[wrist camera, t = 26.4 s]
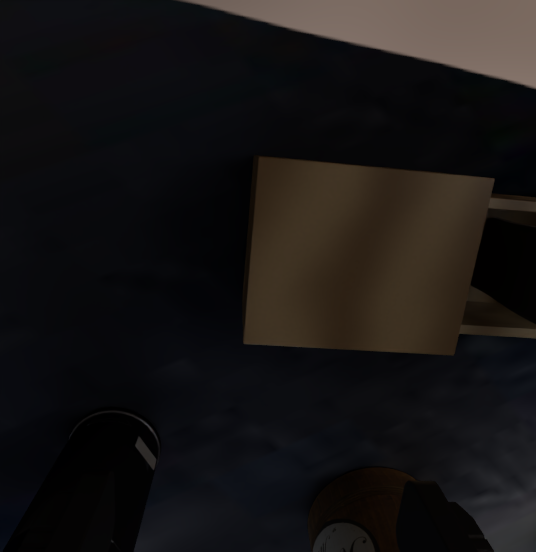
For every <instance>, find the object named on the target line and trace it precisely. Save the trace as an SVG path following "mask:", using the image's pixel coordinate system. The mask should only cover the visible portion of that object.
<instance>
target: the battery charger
mask: <svg viewBox="0 0 536 552" xmlns="http://www.w3.org/2000/svg"><path fill="white" fill-rule="evenodd" d="M471 286H472V287H474V288H476V289H478V290H480V291H482V292H484V293H485V294H487V295H489V296H490V297H492V298H493V299H495V300H496V301H497V302H499V303H500V304H502V305H503V306H505V307H506V308H508V309H509V310H511V311H512V312H514V313H516V314H517V315H519V316H521V317H523V318H524V319H526V320H528V321H530V322H532V323H534V324H536V226H532V225H526V224H520V223H515V222H512V221H509V220H505V219H502V218H497V217H494V218H489V219H488V220H487V222H486V225H485V229H484V232H483V236H482V239H481V243H480V246H479V250H478V254H477V258H476V263H475V267H474V271H473V276H472V280H471Z"/></svg>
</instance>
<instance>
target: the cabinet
mask: <svg viewBox="0 0 536 552" xmlns="http://www.w3.org/2000/svg"><path fill="white" fill-rule="evenodd" d="M494 180H495V179H494V178H485V177H476V176H467V175H458V174H448V173H439V172H429V171H418V170H408V169H397V168H387V167H376V166H365V165H355V164H344V163H333V162H323V161H312V160H302V159H291V158H280V157H270V156H259V155H254V157H253V170H252V183H251V195H250V208H249V221H248V233H247V246H246V259H245V271H244V284H243V297H242V313H243V343H244V344H257V345H275V346H293V347H311V348H330V349H348V350H366V351H384V352H402V353H421V354H439V355H454V353H455V349H456V345H457V340H458V336H459V332H460V327H461V323H462V319H463V315H464V310H465V306H466V302H467V297H468V293H469V289H470V284H471V280H472V276H473V271H474V267H475V263H476V258H477V254H478V250H479V245H480V241H481V237H482V232H483V228H484V224H485V219H486V215H487V211H488V206H489V202H490V198H491V193H492V189H493V185H494Z"/></svg>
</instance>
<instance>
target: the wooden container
mask: <svg viewBox="0 0 536 552" xmlns="http://www.w3.org/2000/svg"><path fill="white" fill-rule="evenodd" d="M407 481H417V480H416V479H414V478H413V477H412V476H410V475H408V474H406V473H404V472H401V471H398V470H395V469H390V468H382V467H371V468H364V469H359V470H356V471H352V472H350V473H347V474H345V475H343V476H341V477H339V478H337V479H336V480H334V481H333V482H331V483H330V484H329V485H327V486H326V487H325V488H324V489H323V490H322V491H321V492H320V493H319V495H318V496H317V497H316V499H315V501H314V503H313V504H312V507H311V509H310V512H309V516H308V534H309V540H310V546H311V552H400V550H399V548H398V544H397V538H396V522H397V517H398V513H399V508H400V504H401V499H402V494H403V490H404V486H405V483H406V482H407Z"/></svg>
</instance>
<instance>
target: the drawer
mask: <svg viewBox="0 0 536 552" xmlns="http://www.w3.org/2000/svg"><path fill="white" fill-rule="evenodd" d="M494 217H497V218H502V219H505V220H509V221H512V222H515V223H520V224H526V225H532V226H536V197H525V196H514V195H503V194H492V193H491V198H490V202H489V206H488V211H487V215H486V219H485V224H484V228H483V232H484V229H485V225H486V222H487V220H488V219H489V218H494ZM483 232H482V236H483ZM481 239H482V237H481ZM480 243H481V241H480ZM479 246H480V245H479ZM459 334H474V335H491V336H508V337H524V338H536V324H534V323H532V322H530V321H528V320H526V319H524V318H523V317H521V316H519V315H517V314H516V313H514V312H512V311H511V310H509V309H508V308H506V307H505V306H503V305H502V304H500V303H499V302H497V301H496V300H495V299H493V298H492V297H490V296H489V295H487V294H485V293H484V292H482V291H480V290H478V289H476V288H474V287H472V286H471V284H470V289H469V293H468V297H467V302H466V306H465V310H464V315H463V319H462V323H461V327H460V332H459Z"/></svg>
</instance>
